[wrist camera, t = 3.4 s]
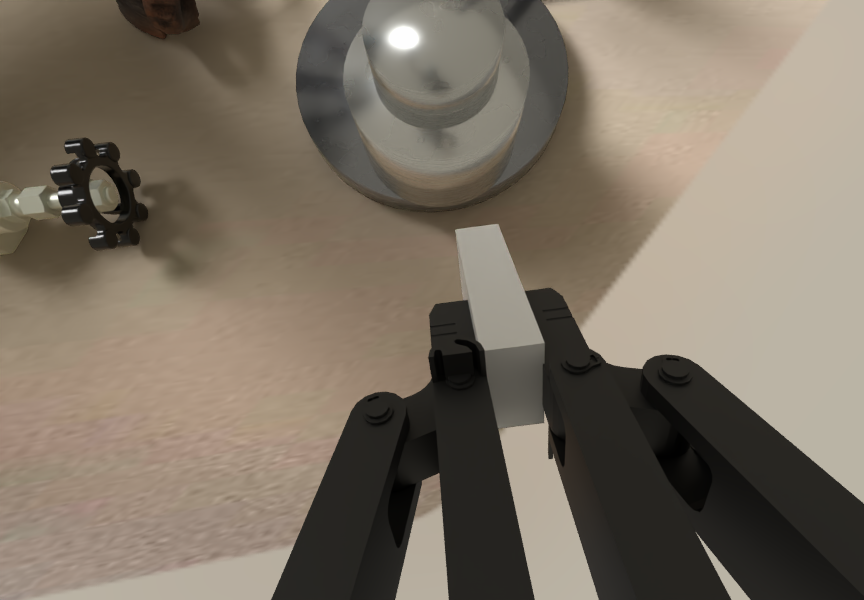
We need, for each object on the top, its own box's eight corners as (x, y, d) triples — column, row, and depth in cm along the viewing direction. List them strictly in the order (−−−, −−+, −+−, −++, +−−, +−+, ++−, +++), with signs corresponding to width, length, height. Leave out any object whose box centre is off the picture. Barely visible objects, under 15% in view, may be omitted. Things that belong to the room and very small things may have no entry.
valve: (-33, 283, 31) (148, 263, 30) (-163, 255, 24) (65, 229, 24) (-25, 188, 32) (149, 168, 32) (-147, 137, 25) (70, 111, 25)
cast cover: (373, 216, 28) (336, 138, 19) (359, 81, 30) (318, -49, 21) (525, 196, 28) (558, 106, 19) (502, 60, 29) (522, -80, 21)
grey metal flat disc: (316, 228, 30) (306, 217, 28) (296, -1, 33) (287, -25, 31) (582, 192, 30) (591, 178, 28) (537, -36, 33) (543, -63, 31)
